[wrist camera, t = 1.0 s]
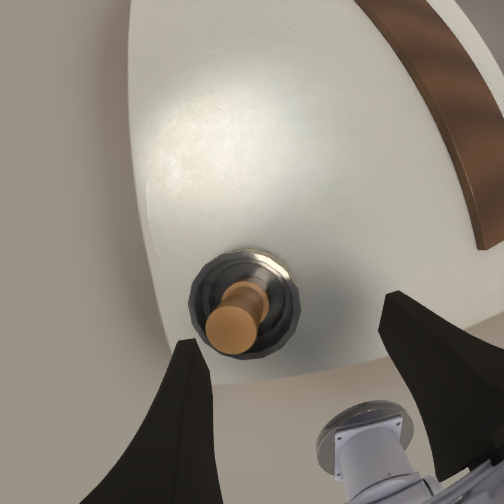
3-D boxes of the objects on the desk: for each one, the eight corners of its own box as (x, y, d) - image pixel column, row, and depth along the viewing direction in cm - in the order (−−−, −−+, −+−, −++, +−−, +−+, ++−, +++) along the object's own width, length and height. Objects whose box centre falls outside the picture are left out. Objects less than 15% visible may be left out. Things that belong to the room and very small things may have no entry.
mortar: (301, 332, 24) (305, 352, 19) (213, 343, 25) (200, 363, 20) (289, 242, 23) (291, 243, 19) (197, 256, 24) (179, 260, 20)
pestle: (273, 314, 23) (268, 357, 14) (232, 319, 24) (205, 363, 15) (267, 272, 23) (258, 294, 14) (224, 278, 24) (192, 302, 15)
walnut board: (528, 220, 20) (536, 219, 19) (477, 249, 21) (486, 250, 20) (387, -29, 20) (389, -35, 18) (324, -30, 21) (325, -37, 19)
